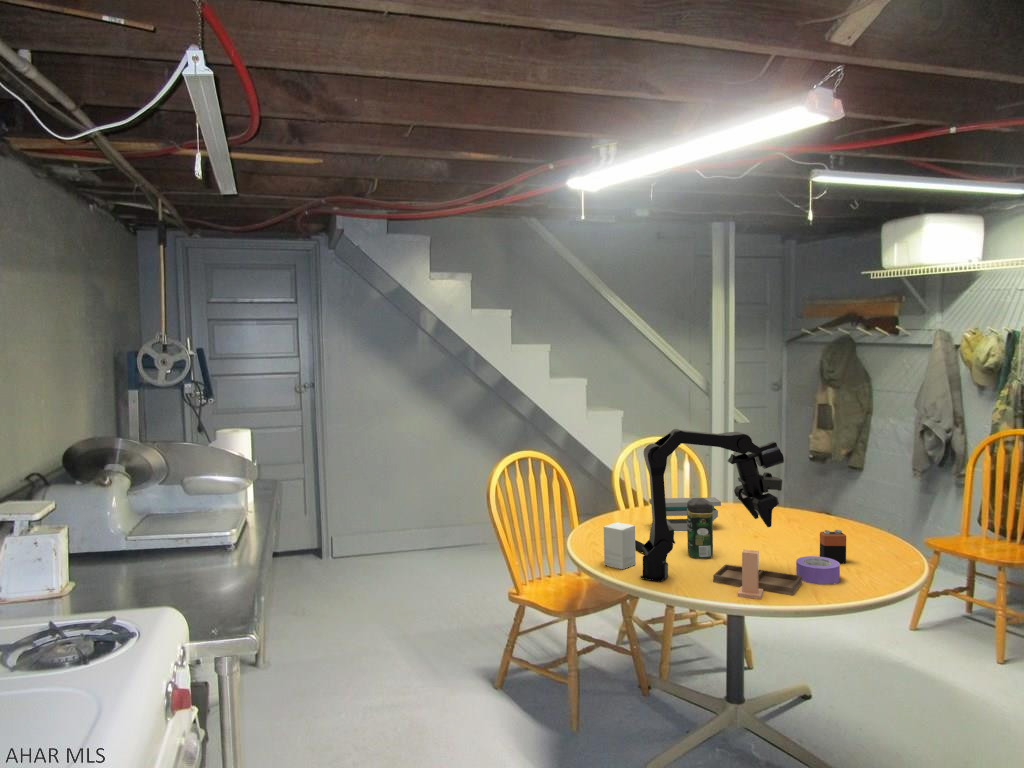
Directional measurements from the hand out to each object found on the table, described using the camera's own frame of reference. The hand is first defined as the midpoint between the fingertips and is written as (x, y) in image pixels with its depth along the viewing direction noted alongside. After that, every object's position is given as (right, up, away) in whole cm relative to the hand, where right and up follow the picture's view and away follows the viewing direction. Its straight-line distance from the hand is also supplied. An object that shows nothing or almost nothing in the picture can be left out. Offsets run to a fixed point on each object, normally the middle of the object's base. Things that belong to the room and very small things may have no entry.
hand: (763, 522), depth 212 cm
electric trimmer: (-30, -15, +25) cm, 42 cm away
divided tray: (-4, -16, -6) cm, 18 cm away
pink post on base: (-9, -17, -16) cm, 25 cm away
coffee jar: (-13, -15, +22) cm, 30 cm away
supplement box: (-41, -16, +13) cm, 46 cm away
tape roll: (+15, -16, -3) cm, 22 cm away
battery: (+26, -15, +13) cm, 33 cm away
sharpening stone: (-10, -13, +56) cm, 58 cm away
